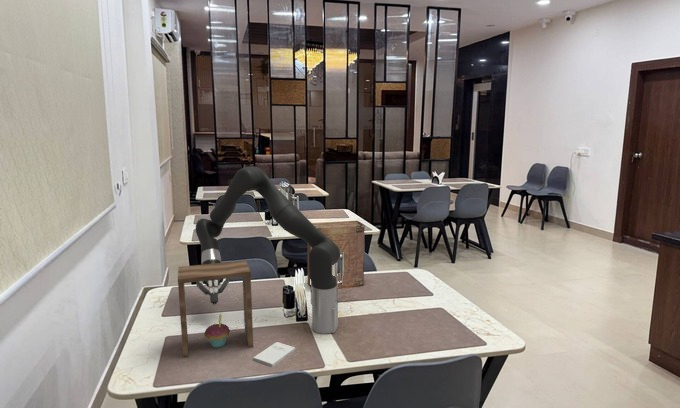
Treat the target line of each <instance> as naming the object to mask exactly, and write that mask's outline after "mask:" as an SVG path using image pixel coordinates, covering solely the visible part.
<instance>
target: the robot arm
mask: <svg viewBox="0 0 680 408" xmlns="http://www.w3.org/2000/svg"><path fill="white" fill-rule="evenodd" d="M252 191H256V192H257V193H258V194H259V195H260V196H261V197H262V198H263V199H264V200H265V202H266V204H267V207H268V210H269V212H270V215H271V217H272V219H274V221H275V222H276V223H277V224H278V225H279V226H280V227H281V228H282V230H284V231H286V232H287V233H288V234H291V235H292V236H294V237H297V238H298V239H301V240H303V241H304V243H306V244H307V245H308V244H309V245H310V246H311V247H312V249H311V250H310V253H309V274H310V279H311V281H312V287H311V327H312V328H311V329H312V331H313V332H314V333H317V334H321V335H322V334H323V335H327V334H331V333H333V334H334V333H336V331H337V330H338V327H339V303H338V301H337V291H338V289H337V280H336V277H335V276H333V275H332V265H334V264H335V263H337V262H338V261H339V259H340V250H339V248H338V247H337V245H336V244H335V243H334V242H333V241H331V240H330V239H329V238H328V237H327V236H325V235H324V234H323V233H322V232H320V231H319V230H318V229H317V228H316V227H315V226H314V225H313V224H314V223H312V221H310V220H309V219H308V218H307V216H305V215H304V214H303V213H302V212H301V211H300V210H299V208H297V206H295V204H294V203H292V202H291V201H290V200H289V199H288V197H286V196H285V195H284V193H283V192H281V190H280V189H278V187H277V186H276V185H275V184H274V183H273V181H272V180H271V179H270V178H269V176H268V175H267V174H266V172H265V171H264V170H263V169H261V168H260V167H258V166H247V167H242V168H240V169H238V170H237V171H236V173H235V174H234V176H233V177H232V179H231V182H230V183H229V185H228V187H227V189H226V191H225V193H223V196H222V197H221V198H220V200H219V202H218V203H217V204H216V205H215V206H214V207H213V209H212V210H211V211H210V213H209V218H210V219H207V218H200V219H198V221H196V224H195V233H196V236H197V239H198V241H199V244H200V246H201V247H200V249H201V257H200V258H201V262H200V263H201V264H200V265H204V264H214V263H222V256H221V254H220V253H221V252H220V243H219V240H218V239H216V238H218V237H220V235H221V234H222V231H223V228H224V226H225V224H226V221H228V219H229V218H230V217H231V216H232V215H233V213H234V211H235V209H236V208H237V207H236V206H237V203H238V201H239V199H240V198H241V197H242V196H243V195H244V194H245V193H247V192H252ZM221 283H222V284H221ZM229 283H230V278H228V279H218V280H209V281H200V282H195V284H196V287H197V289H199V290H200V291H201V292H202V293H203V294H204V295H206V296H207V295H208V296H209V298H210V299H209V300H210V303H211V304H212V305H217V303H218V302H219V294H222V293H223V291H224V290H225V289H226V288H227V286H228V285H229ZM205 286H206V287H205ZM218 286H220V287H219V288H218ZM213 287H214V289H213Z"/></svg>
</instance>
